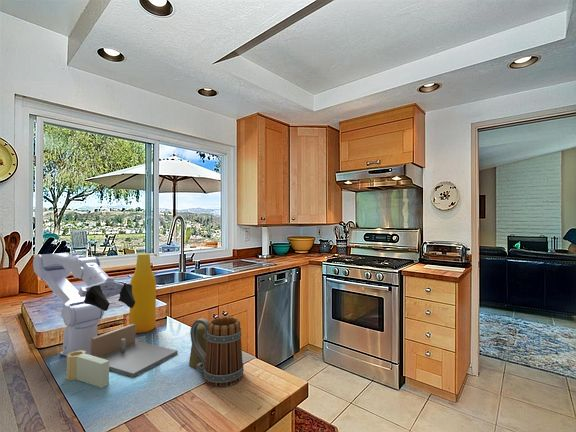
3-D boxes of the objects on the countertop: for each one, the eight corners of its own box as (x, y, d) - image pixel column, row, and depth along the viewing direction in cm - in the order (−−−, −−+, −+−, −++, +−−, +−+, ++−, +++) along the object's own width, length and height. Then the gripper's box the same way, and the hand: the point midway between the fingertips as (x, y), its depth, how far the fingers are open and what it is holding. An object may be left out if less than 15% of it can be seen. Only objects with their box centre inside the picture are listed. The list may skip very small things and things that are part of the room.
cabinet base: (85, 362, 90) (86, 338, 90) (133, 343, 104) (133, 322, 105) (133, 377, 82) (133, 351, 82) (177, 353, 96) (177, 331, 96)
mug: (250, 371, 85) (250, 317, 85) (231, 391, 75) (231, 330, 75) (202, 362, 90) (203, 312, 90) (179, 380, 80) (179, 323, 81)
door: (63, 377, 81) (63, 355, 81) (79, 371, 85) (79, 349, 85) (97, 389, 75) (97, 365, 76) (112, 382, 79) (112, 359, 79)
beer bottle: (159, 328, 118) (160, 254, 119) (135, 335, 111) (136, 256, 112) (149, 323, 124) (150, 252, 125) (125, 329, 118) (126, 254, 118)
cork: (204, 368, 86) (204, 330, 87) (184, 366, 88) (185, 328, 88) (213, 359, 92) (213, 323, 93) (195, 357, 94) (195, 321, 94)
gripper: (77, 269, 86) (99, 295, 79) (126, 269, 98) (148, 292, 91) (68, 291, 86) (89, 319, 79) (117, 289, 99) (139, 312, 92)
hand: (120, 306), depth 85 cm, fingers open, 7 cm apart
